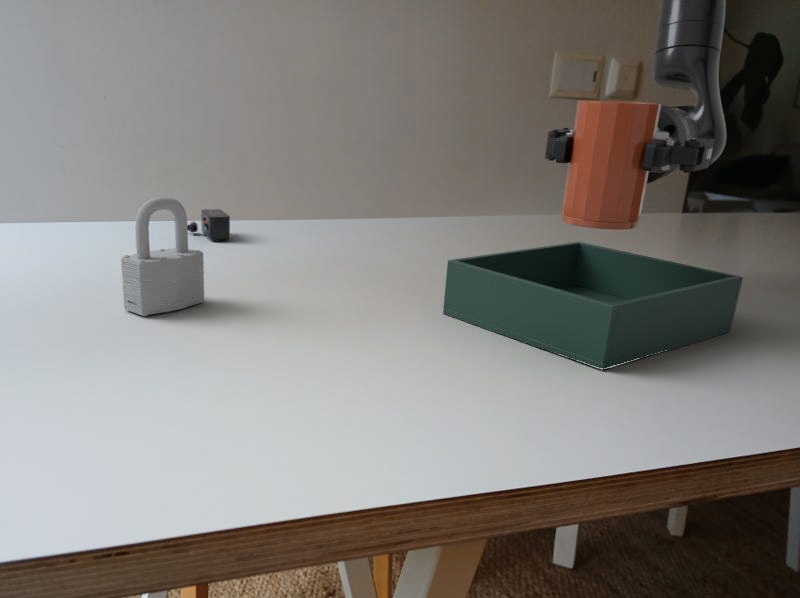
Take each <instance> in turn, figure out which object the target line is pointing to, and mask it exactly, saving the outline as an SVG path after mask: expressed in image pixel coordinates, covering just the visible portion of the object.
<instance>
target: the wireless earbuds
mask: <svg viewBox="0 0 800 598" xmlns="http://www.w3.org/2000/svg"><path fill="white" fill-rule="evenodd" d="M200 220H201V221H200V224H201V232H202V234H203V235H205V237H207V238H208V239H209V240H210V241H211V242H227V241H229V240H230V238H231V226H230V225H231V217H230V215H229V214H228V213H226V212H225V211H224V210H222V209H219V208H214V209H213V208H212V209H211V208H208V209H207V208H206V209H205V208H204V209H201V210H200ZM198 230H199V225H198V223H197V222H195V221H191V222H190V224H187V231H188V232H190V233H197V232H198Z"/></svg>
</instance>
